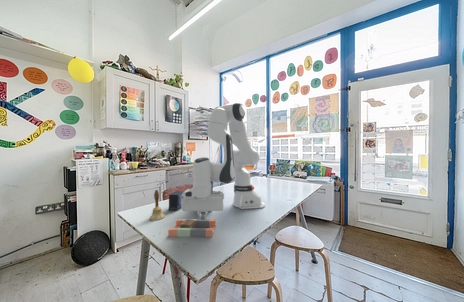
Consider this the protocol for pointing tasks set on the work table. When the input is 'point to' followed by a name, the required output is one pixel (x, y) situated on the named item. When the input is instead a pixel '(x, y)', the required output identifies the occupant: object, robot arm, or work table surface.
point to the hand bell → (156, 209)
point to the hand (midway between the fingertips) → (203, 219)
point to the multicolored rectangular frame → (194, 229)
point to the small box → (175, 200)
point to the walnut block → (188, 224)
